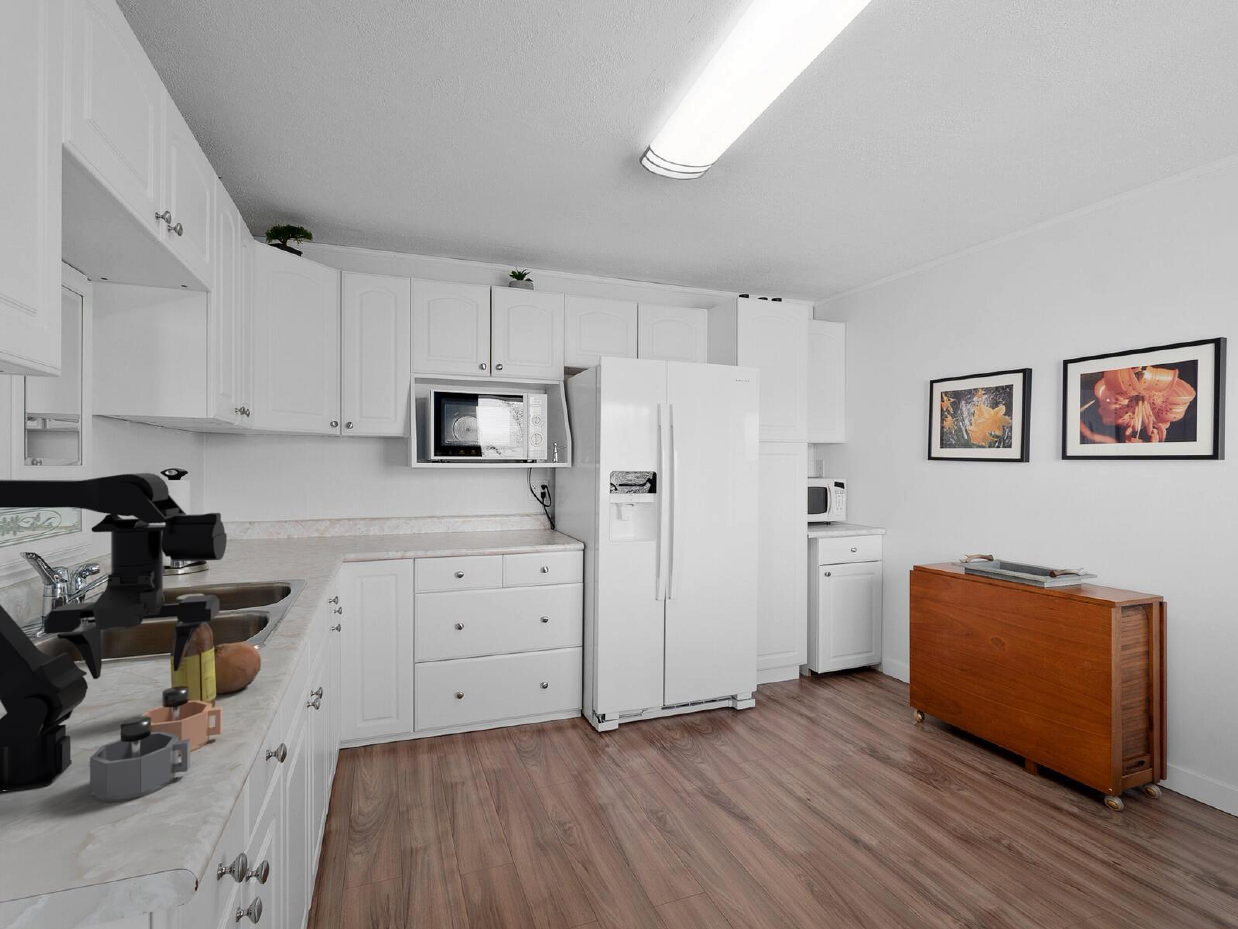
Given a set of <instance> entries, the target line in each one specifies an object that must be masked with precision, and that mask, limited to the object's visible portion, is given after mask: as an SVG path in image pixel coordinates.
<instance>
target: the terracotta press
mask: <svg viewBox="0 0 1238 929" xmlns="http://www.w3.org/2000/svg"><path fill="white" fill-rule="evenodd" d="M223 707H224V706H223V705H220V706H216V707H215V706H214V707H213V708H212V704H211V703H207V702H203V701H199V700H194V701H188V702H187V703H186V704H184V705H181V706H179V720H178V721H172V707H163V706H162V705H160V706H158V707H155V708H152V709H149V710H146V711H144V712H143V713H142V714H141V716H140V717H150V718H151V733H153V732H161V731H163V732H167V733H170V734H173V735H177V736H178V741H180V740H186V739H190V753H191V752H194V751H196V750H198V749H200V748H202V747H204V746H205V745H206V744H207V743H208V742H210V738H211V737H210V736H218V735H222V733H223V728H224V727H223V715H224V714H223V710H224V709H223ZM213 716H214V726H213V724H212V723H213ZM179 756H181V750H178V757H179Z"/></svg>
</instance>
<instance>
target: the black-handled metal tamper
mask: <svg viewBox="0 0 1238 929" xmlns="http://www.w3.org/2000/svg"><path fill="white" fill-rule="evenodd" d="M161 699H162V701H161V702H162V703H161V704H162V705H161V706H163V707H172V721H178V720H179V706H181V705H184V704H186V703H187V702H188V701H189V688H188V687H187V686H177V687H172V686H171V687H169V688H166V689H164V690H162V698H161Z"/></svg>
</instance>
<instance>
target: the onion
mask: <svg viewBox="0 0 1238 929" xmlns="http://www.w3.org/2000/svg"><path fill="white" fill-rule="evenodd" d="M214 660H215V682H216V693H218V694H227V693H228V694H229V693H233V692H235V691H239V690H241V689H242V690H244V689H246V688H247V687H248V686H249V685H251V684H252V683H253V682H254V681H255V679H256V678H257V675H258V674H259V673H260V671H261V666H262V665H261V664H262V659H261V654H260V653H259V650H258V649H257V648H256V647H255V646H254V645H252V644H250V643H248V642H244V641H238V642H231V643H220V644H218V645H215V646H214ZM242 690H241V691H242Z"/></svg>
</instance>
